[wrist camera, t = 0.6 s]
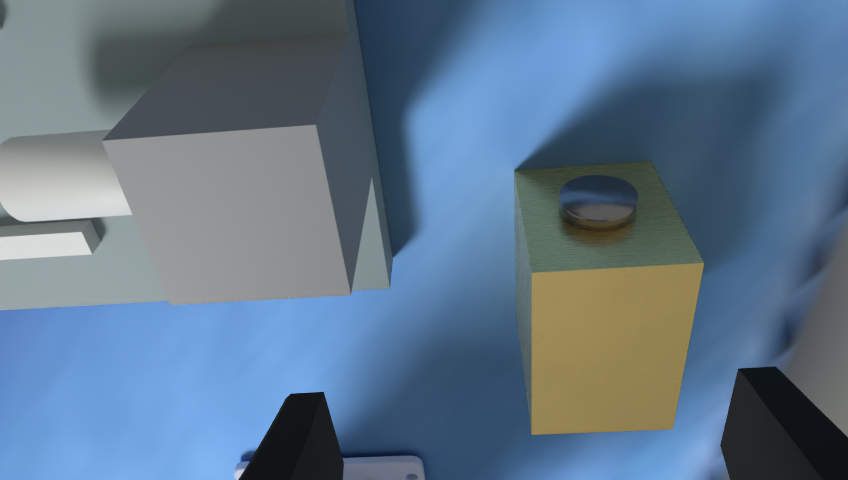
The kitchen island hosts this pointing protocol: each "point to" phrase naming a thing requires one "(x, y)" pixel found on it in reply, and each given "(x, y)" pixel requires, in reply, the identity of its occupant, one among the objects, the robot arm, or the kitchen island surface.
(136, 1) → the long grey base plate
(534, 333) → the block
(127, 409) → the kitchen island surface
